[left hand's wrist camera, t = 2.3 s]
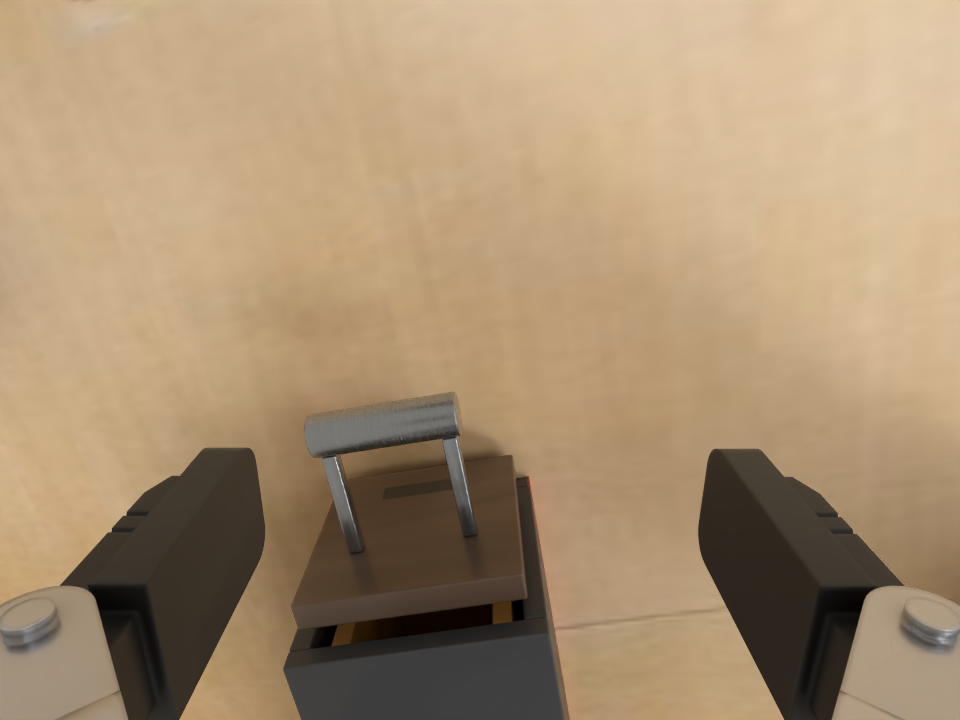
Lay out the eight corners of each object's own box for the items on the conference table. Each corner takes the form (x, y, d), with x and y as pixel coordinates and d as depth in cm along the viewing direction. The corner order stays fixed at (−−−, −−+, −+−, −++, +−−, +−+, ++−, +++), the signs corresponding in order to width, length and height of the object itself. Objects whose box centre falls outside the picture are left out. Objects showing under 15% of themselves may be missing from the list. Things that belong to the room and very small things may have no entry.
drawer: (308, 367, 30) (239, 461, 22) (491, 337, 30) (495, 422, 21) (420, 759, 39) (403, 935, 31) (563, 742, 39) (585, 916, 30)
